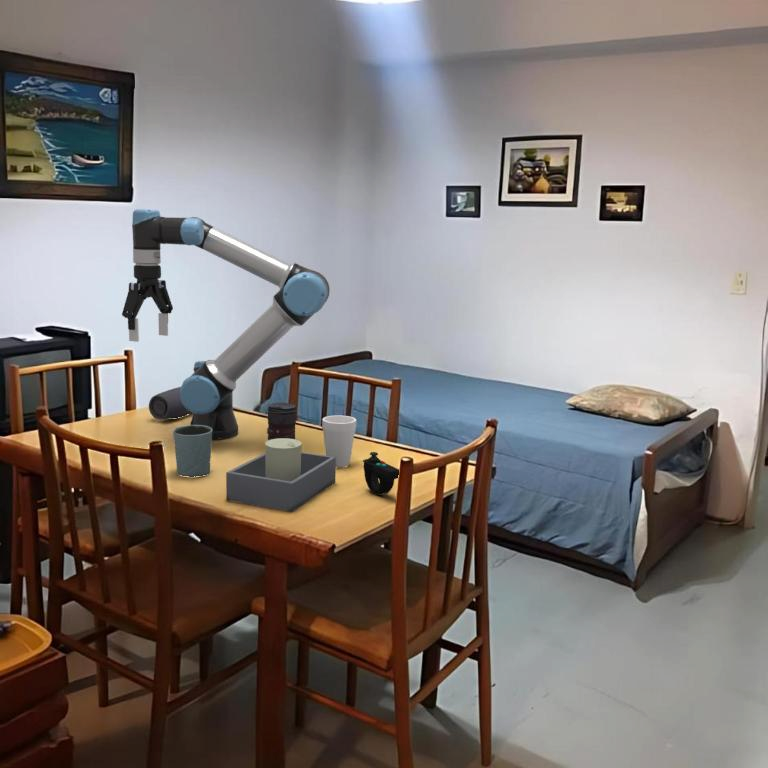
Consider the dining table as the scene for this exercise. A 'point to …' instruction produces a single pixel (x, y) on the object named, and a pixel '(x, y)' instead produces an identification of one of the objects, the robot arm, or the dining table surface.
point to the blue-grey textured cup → (193, 449)
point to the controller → (379, 474)
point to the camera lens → (281, 421)
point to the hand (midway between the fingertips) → (149, 338)
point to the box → (280, 483)
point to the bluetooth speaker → (167, 405)
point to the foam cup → (339, 437)
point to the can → (283, 459)
